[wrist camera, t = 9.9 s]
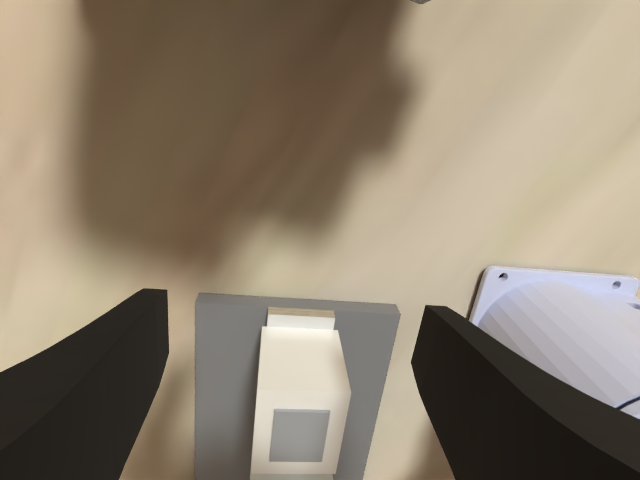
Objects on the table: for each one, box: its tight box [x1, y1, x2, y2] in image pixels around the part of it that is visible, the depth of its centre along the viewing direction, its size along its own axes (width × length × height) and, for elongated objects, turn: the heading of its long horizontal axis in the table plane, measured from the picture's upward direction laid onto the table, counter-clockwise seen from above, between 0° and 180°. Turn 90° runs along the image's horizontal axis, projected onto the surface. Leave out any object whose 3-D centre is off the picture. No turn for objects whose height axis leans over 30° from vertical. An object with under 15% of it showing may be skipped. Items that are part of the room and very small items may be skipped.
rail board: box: [195, 293, 401, 480], centre depth 23 cm, size 11×18×6 cm, turn 173°
